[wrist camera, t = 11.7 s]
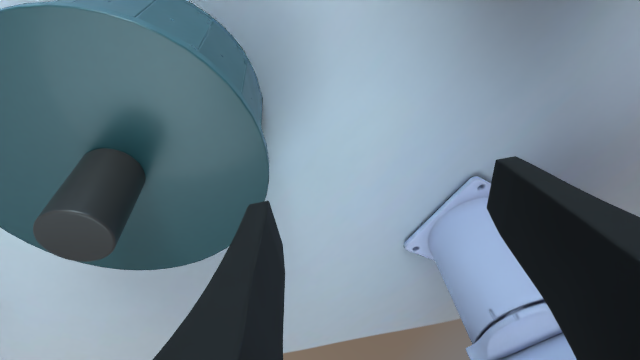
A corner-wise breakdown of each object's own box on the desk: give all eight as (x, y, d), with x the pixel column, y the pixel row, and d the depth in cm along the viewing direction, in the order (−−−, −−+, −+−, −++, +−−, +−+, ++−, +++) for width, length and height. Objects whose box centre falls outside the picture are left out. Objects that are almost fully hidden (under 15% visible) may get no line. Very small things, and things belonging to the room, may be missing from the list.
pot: (298, 63, 19) (306, 115, 14) (216, 207, 24) (203, 278, 20) (53, -75, 14) (-51, -64, 10) (20, 139, 20) (-57, 211, 15)
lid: (321, 104, 15) (337, 171, 11) (209, 277, 21) (195, 359, 17) (-59, -95, 10) (-258, -93, 6) (-62, 206, 16) (-163, 298, 12)
